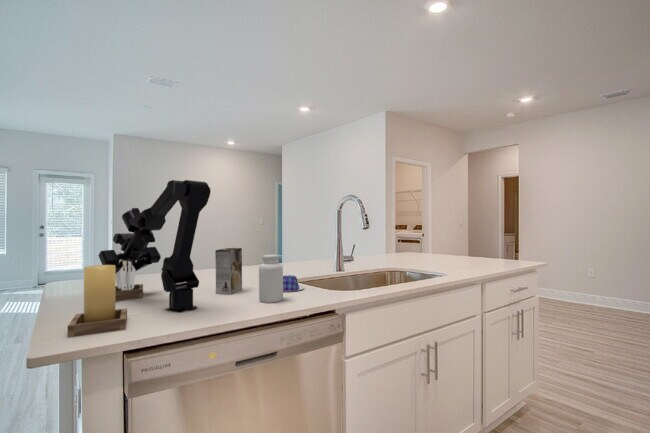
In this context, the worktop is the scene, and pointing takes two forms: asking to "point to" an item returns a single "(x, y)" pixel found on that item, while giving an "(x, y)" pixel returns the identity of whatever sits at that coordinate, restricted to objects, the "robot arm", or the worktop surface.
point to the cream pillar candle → (99, 293)
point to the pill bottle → (270, 279)
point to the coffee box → (228, 270)
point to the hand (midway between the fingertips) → (123, 272)
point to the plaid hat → (291, 284)
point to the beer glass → (125, 275)
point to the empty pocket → (129, 293)
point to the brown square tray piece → (97, 324)
